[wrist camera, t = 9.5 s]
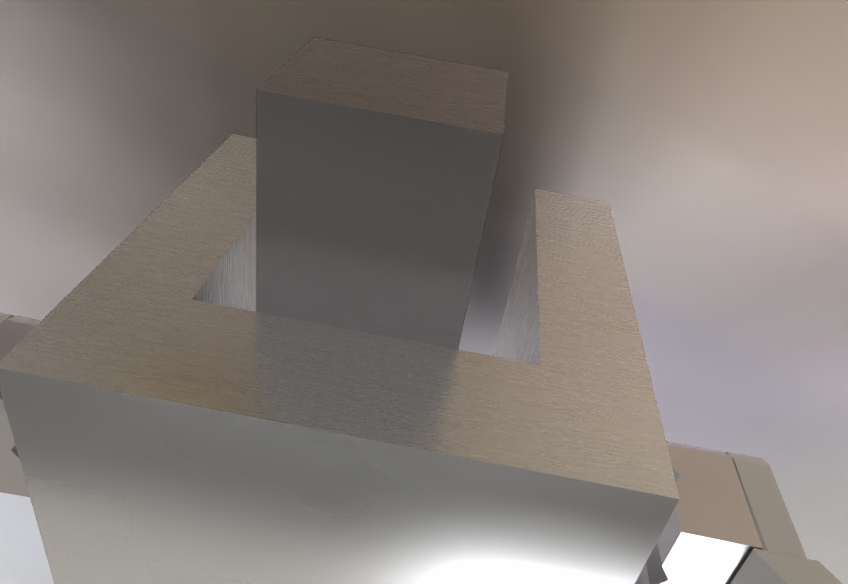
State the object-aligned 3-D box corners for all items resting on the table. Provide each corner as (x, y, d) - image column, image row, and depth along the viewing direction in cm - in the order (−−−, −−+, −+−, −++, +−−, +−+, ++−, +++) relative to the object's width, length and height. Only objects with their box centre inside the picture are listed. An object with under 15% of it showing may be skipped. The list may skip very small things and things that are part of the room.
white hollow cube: (609, 202, 11) (679, 499, 6) (537, 424, 14) (545, 753, 9) (232, 134, 11) (-6, 366, 6) (237, 367, 14) (75, 658, 9)
